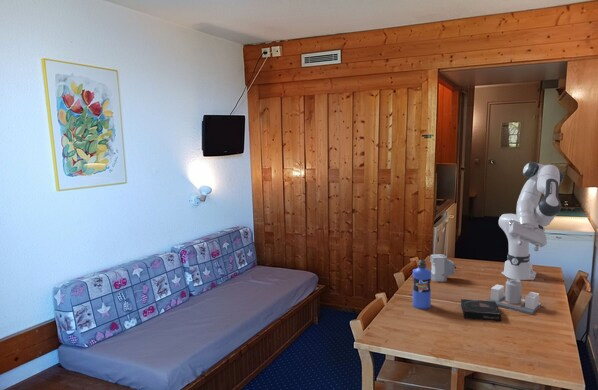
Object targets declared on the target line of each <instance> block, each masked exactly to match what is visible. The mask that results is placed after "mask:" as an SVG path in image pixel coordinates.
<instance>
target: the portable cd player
mask: <svg viewBox="0 0 598 390" xmlns="http://www.w3.org/2000/svg"><path fill="white" fill-rule="evenodd" d="M460 306H461V311H462V315H463V318H464V319H465V320H477V321H487V322H488V321H490V322H502V313H501V311H500V308H499V307H498V306H497V304H496V302H495V301H487V300H480V299H466V298H461V299H460Z"/></svg>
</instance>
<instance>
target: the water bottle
mask: <svg viewBox="0 0 598 390" xmlns="http://www.w3.org/2000/svg"><path fill="white" fill-rule="evenodd" d="M426 262H427V261H426V260H425V259H422V258H421V259H419V260H418V263H417V268H414V269H412V281H413V286H412V287H413V288H412V306H413V308H415V309H418V310H419V309H420V310H429V309H431V303H432V300H431V299H432V296H431V294H432V293H431V292H432V289H431V280H432V279H431V275H432V273H431V270H432V269H431V270H430V269H428V268H427V263H426Z"/></svg>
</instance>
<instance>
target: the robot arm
mask: <svg viewBox="0 0 598 390" xmlns="http://www.w3.org/2000/svg"><path fill="white" fill-rule="evenodd" d="M522 176H523V177H525V178H526V179H527V180H526V182H525V183H524V185H523V187H522V188H521V191H520V194H519V196H518V199H517V202H516V207H515V208H516V209H515V210H516V213H503V214H501V216H499V219H498V227H499V228H501V230H502V231H503V232H504V234H505V236H506V238H507V242H508V253H507V256H506V257H507V258H506V259H507V260H506V261H504V268H503V271H501V274H502V275H503V276H505V277H506V278H507V279H518V280H520V281H529V280H530V281H533V280H535V279H536V276H537V272H536V271H534V270H533V267H534V266H533V264H532V263H531V261H530V258H531V254H530V253H529V252H530V244H532V245H534V247H533V251H534V252H538V251H540V250H539V249H540V248H543V247H544V246H546V245H547V243H548V241H547V240H548V239H547V235H546V233H545V231H546V229H545V227H547V226H549V225H550V224H551V222H552V221H553V220H554V219H555V218H556V216H557V215H558V214H559V212H560V211H561V209H562V203H561V201H560V198H559V188H560V187H559V186H560V185H561V184H562V182H563V181H564V173H563V172H562V171H560V170H559V168H558V167H557V166H556V165H554V164H542V163H538V162H537V161H529V162H527V163H526V164H525V165H524V167H523V169H522ZM542 194H543V195H544V196H543V197H542V198H541V196H542ZM529 243H530V244H529Z"/></svg>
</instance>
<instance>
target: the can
mask: <svg viewBox="0 0 598 390" xmlns="http://www.w3.org/2000/svg"><path fill="white" fill-rule="evenodd" d="M522 289H523V283H522V280H518V279H511V278H507V279H506V281H505V289H504V295H505V300H506V301H507V302H508V303H510V304H519V303H521V299H522V295H523V290H522Z"/></svg>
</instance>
